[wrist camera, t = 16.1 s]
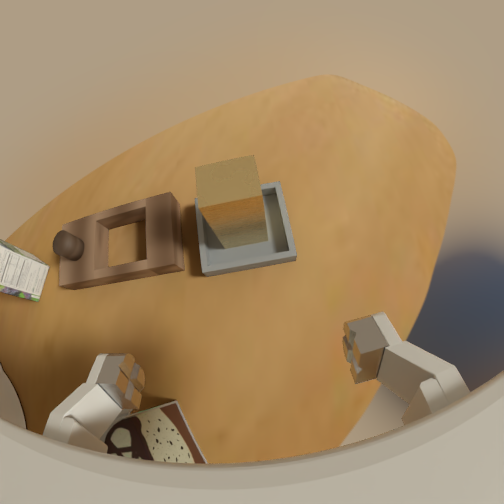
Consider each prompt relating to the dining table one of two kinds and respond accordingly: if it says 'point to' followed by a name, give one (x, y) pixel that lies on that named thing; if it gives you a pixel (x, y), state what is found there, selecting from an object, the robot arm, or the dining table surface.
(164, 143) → the dining table surface
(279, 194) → the tray
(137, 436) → the food container
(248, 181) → the gold rectangular block
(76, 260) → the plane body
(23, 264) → the syrup box
